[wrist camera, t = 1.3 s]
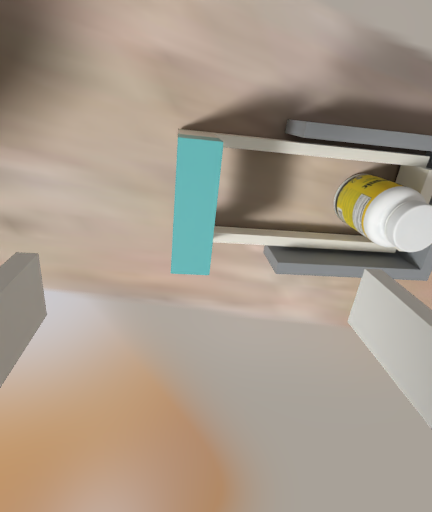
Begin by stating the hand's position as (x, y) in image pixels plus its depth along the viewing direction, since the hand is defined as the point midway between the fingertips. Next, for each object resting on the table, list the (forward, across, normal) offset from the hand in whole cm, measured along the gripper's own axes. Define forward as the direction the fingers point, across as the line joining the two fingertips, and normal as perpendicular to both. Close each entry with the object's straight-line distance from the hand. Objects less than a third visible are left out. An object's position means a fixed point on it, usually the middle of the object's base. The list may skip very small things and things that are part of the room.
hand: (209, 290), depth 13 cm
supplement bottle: (+20, +17, 0) cm, 27 cm away
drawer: (+20, +10, 0) cm, 22 cm away
